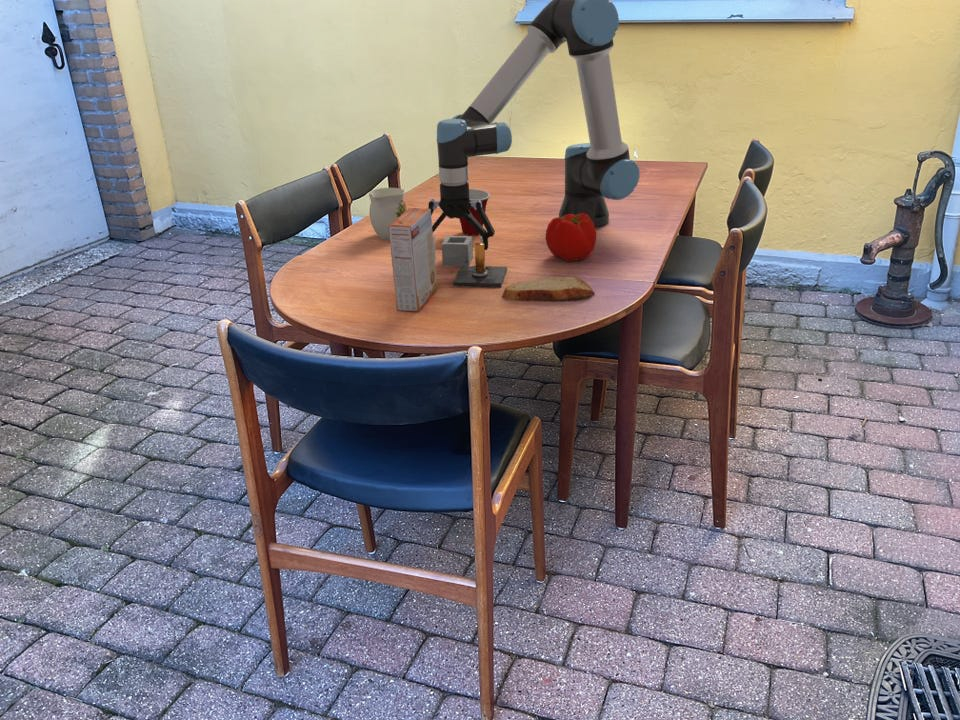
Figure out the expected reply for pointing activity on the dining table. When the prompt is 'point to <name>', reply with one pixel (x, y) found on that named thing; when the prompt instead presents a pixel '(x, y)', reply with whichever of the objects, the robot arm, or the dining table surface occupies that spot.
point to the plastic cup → (474, 211)
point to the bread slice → (549, 289)
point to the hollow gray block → (457, 251)
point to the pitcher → (386, 209)
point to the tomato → (571, 236)
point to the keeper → (480, 272)
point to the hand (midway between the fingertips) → (457, 261)
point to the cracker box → (413, 259)
